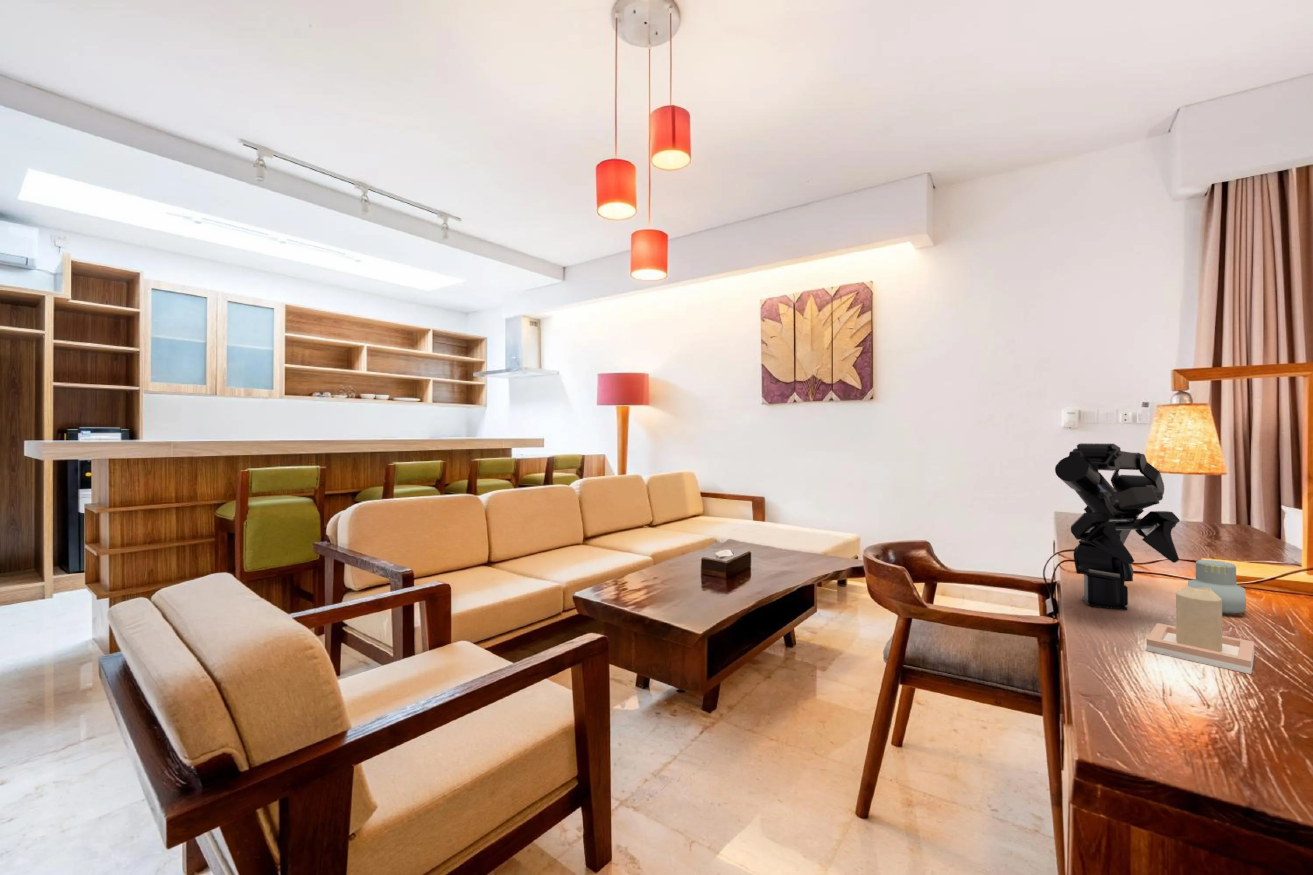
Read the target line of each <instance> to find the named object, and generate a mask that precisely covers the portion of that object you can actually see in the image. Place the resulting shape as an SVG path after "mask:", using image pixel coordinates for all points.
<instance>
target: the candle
mask: <svg viewBox="0 0 1313 875" xmlns="http://www.w3.org/2000/svg"><path fill="white" fill-rule="evenodd" d="M1175 626H1176V640H1177V642H1178V643H1179V644H1184V645H1189V646H1194V647H1198V648H1203V649H1208V650H1213V651H1217V652H1219V651H1221V650H1222V636H1223V613H1222V599H1221V598H1220V597H1219V596H1218V595H1217V594H1216V593H1214V592H1213V591H1212V590H1211V589H1210V588H1204V587H1202V588H1193V587H1188V586H1187V585H1185V586H1184V587H1182V588H1181V589H1179V590H1177V591H1176V592H1175Z"/></svg>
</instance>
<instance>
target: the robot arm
mask: <svg viewBox="0 0 1313 875" xmlns="http://www.w3.org/2000/svg"><path fill="white" fill-rule="evenodd" d="M1120 470H1124V471H1125V470H1126V471H1127V470H1129V471H1130V470H1131V471H1139V472H1140V474H1141V475H1138V474H1136V475H1135V474H1119V472H1120ZM1100 471H1107V472H1108V471H1112V472H1113V473H1112V475H1111V477H1110V482H1109V481H1107V479H1106V478H1105V477H1104V476H1103V474H1101V472H1100ZM1054 472H1055V475H1056V476H1057V477H1058V478H1059V480H1061V481H1062V482H1063V483H1065V484H1066V485H1067V486H1068V487H1069V488H1070V489H1072V490H1074V491H1075V493H1076V494H1077V495H1078V496H1079V497H1080V499H1081V500H1082V502H1083V503H1084V504H1085V505H1086V506H1085V508H1083V510H1084V512H1083V513H1082V514H1081V515H1080V516H1079V517H1078V518H1077V519H1076V520H1075V521H1074V522H1073V523H1072V524H1071V525H1070V533H1071V534H1072V535H1073V537H1074V538H1075V539H1076V540H1077V541H1078V544H1077V546H1075V547H1074V549H1073V561H1074V567H1075V573H1076V574H1077V575H1078V574H1079V575H1083V579H1084V580H1083V584H1084V585H1083V587H1084V588H1083V590H1084V595H1082V596H1081V599H1082V601H1084V602H1085V604H1087V605H1088V606H1089V607H1096V608H1103V609H1104V608H1105V609H1114V610H1122V611H1128V610H1129V608H1128V607H1127V606H1128V604H1129V597H1128V596H1129V594H1128V593H1129V592H1128V590H1129V588H1128V586H1127V585H1126V584H1125V582H1133V581H1134V577H1133V576H1134V569H1133V566H1132V564H1133V563H1135V559H1134V558H1133V556H1132V554H1131V553H1130V551H1129V550H1128V548H1127V547H1126V546H1125V543H1126V541H1127V538H1128V537H1129V535H1130V534H1131V531H1132V530H1134V531H1135V532H1136V533H1137V534H1138V536H1141V537H1143V538H1142V539H1141V541H1143V542H1144V543H1146V544H1147V545H1148V546H1150V547H1151V548H1152V549H1154V551H1156V552H1158V553H1159V554H1160V555H1161V556H1163V557H1164V558H1166V559H1167V560H1168V561H1170V562H1172V563H1173V564H1174V563H1175V564H1176V563H1178V562H1179V561H1180V558H1179V556H1178V553H1177V549H1176V547H1175V544H1174V541H1173V538H1172V531H1173V529H1174V528H1175V527H1176V526H1177V524H1178V523H1179V522H1180V518H1179V517H1178V516H1177V515H1176V514H1175V513H1174V512H1173V511H1168V510H1158V511H1157V510H1155V511H1154V510H1153V511H1152V510H1151V511H1148V513H1147V514H1146V515H1144V516H1143V517H1142V518H1139V517H1140V515H1141V514H1142V513H1143V512H1145V510H1144V509H1146V508H1149V507H1152V506H1154V505H1155V506H1156V505H1159V504H1160V501H1162V500H1163V498H1164V497H1163V496H1164V493H1165V483H1164V480H1163V478H1162V474H1161V471H1160V470H1158V469H1157V468H1156V467H1155V466H1153V465H1152V464H1151V463H1150V462H1148V461H1147V458H1146V455H1145V454H1144V453H1141V452H1130V451H1123V450H1121V447H1120V446H1118V445H1117V444H1115V443H1089V442H1088V443H1078V444H1077V445H1076V447H1075V448H1074V449H1073V450H1072V451H1069V454H1068V456H1066V457H1063V458H1062V459H1061V460H1059V461H1058V462H1057V464H1056V465H1055V468H1054ZM1110 483H1111V484H1110Z"/></svg>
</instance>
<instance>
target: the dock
mask: <svg viewBox="0 0 1313 875" xmlns="http://www.w3.org/2000/svg"><path fill="white" fill-rule="evenodd" d="M1145 643H1146V651H1147V652H1150V653H1156V654H1160V655H1164V656H1168V657H1169V656H1170V657H1173V658H1178V659H1182V660H1186V661H1190V662H1195V663H1200V664H1204V665H1209V666H1211V667H1212V666H1213V667H1217V668H1222V669H1226V670H1231V671H1235V672H1239V673H1245V674H1247V675H1248V674H1249V675H1252V672H1253V665H1254V659H1255V641H1252V640H1247V639H1242V638H1237V637H1232V636H1226V635H1222V650H1221V651H1219V652H1217V651H1213V650H1208V649H1203V648H1198V647H1194V646H1189V645H1184V644H1179V643H1178V642H1177V640H1176V625H1169V624H1165V623H1161V622H1160V623H1159V622H1157V623H1156V624H1155V625H1154V627H1153V629H1152V630H1151V632H1150V633H1149V635H1148V636H1147V637H1146V642H1145Z"/></svg>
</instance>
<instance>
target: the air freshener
mask: <svg viewBox="0 0 1313 875" xmlns="http://www.w3.org/2000/svg"><path fill="white" fill-rule="evenodd" d="M1187 587H1193V588H1202V587H1204V588H1210V589H1211V590H1212V591H1213V592H1214V593H1216V594H1217V595H1218V596H1219V597H1220V598H1221V599H1222V614H1224V615H1225V614H1226V615H1227V614H1228V615H1237V614H1240V613H1244V612H1246V611H1247V594H1246V589H1245V588H1244V587H1242V586H1240V585H1238V584H1237V565H1235V564H1233V563H1230V562H1225V561H1220V560H1213V559H1212V560H1210V559H1199V560H1196V561H1195V579H1190V580H1188V581H1187Z"/></svg>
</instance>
